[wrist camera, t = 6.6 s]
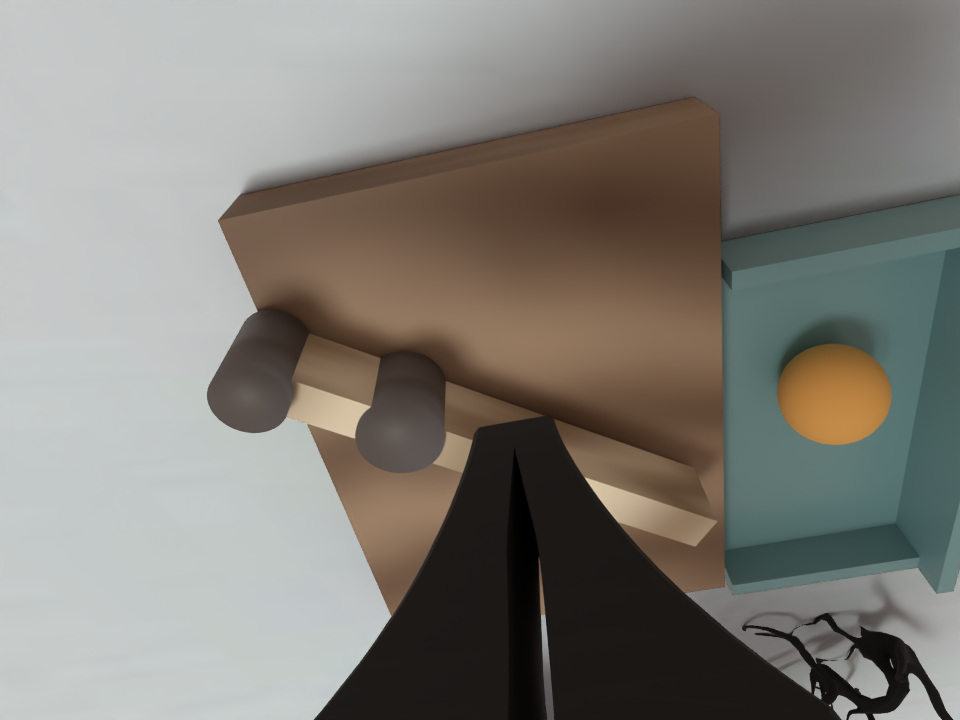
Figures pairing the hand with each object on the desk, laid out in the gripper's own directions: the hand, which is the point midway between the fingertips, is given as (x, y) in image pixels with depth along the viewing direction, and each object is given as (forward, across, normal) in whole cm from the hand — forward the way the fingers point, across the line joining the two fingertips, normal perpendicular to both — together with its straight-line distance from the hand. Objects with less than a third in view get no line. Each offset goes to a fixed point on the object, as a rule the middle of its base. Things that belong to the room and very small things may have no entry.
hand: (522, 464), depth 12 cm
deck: (+10, 0, +6) cm, 11 cm away
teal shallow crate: (+10, -10, +8) cm, 16 cm away
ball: (+9, -9, +7) cm, 15 cm away
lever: (+8, +1, +4) cm, 9 cm away
